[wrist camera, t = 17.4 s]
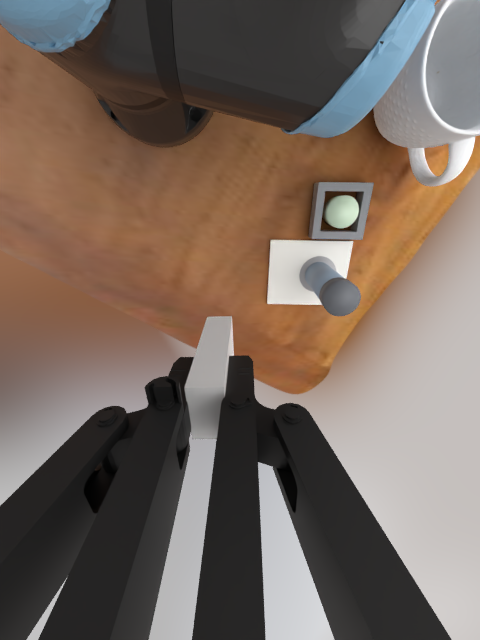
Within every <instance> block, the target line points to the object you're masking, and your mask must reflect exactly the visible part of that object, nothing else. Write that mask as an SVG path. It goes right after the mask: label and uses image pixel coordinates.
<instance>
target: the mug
mask: <svg viewBox="0 0 480 640" xmlns="http://www.w3.org/2000/svg"><path fill="white" fill-rule="evenodd" d="M373 111H374V119H375V123H376V126H377V128H378V130H379V132H380V133H381V134H382V136H383V137H384V138H386V139H387V140H388V141H390V142H391V143H393V144H396V145H398V146H402V147H408V153H409V160H410V165H411V168H412V171H413V174H414V176H415V177H416V179H417V180H418V181H419V182H420V183H421V184H423V185H425V186H438V185H442V184H445V183H447V182H449V181H451V180H453V179H454V178H455V177H457V176H458V175H459V174H460V173H461V172H462V170H463V169H464V167H465V166H466V164H467V162H468V160H469V158H470V156H471V153H472V150H473V147H474V142H475V136H478V135H480V0H441V1H440V2H439V3H437V4H436V5H435V13H434V15H433V17H432V19H431V21H430V23H429V25H428V27H427V29H426V30H425V32H424V34H423V36H422V38H421V39H420V41H419V43H418V44H417V46H416V48H415V49H414V51H413V53H412V54H411V56H410V57H409V59H408V61H407V62H406V64H405V65H404V67H403V68H402V70H401V71H400V73H399V74H398V76H397V77H396V79H395V80H394V81H393V83H392V84H391V86H390V87H389V88H388V90H387V91H386V92H385V94H384V95H383V96H382V98H381V99H380V100H379V101H378V103H377V104H376V105H375V106H374V109H373ZM445 144H449V159H448V164H447V167H446V169H445V171H444V172H443V174H442V175H440V176H439V177H438V176H435V175H434V174H433V173H432V172H431V171H430V169H429V167H428V165H427V162H426V159H425V155H424V148H428V147H435V146H443V145H445Z"/></svg>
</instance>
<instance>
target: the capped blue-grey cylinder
mask: <svg viewBox="0 0 480 640" xmlns="http://www.w3.org/2000/svg"><path fill="white" fill-rule="evenodd" d="M305 280H306V282H307V283H308V285H309V286H310V287H311V289H312V290H313V291H314V293H315V294H316V295H317V297H318V298H319V299H320V302H321V304H322V305H323V306H324V308H325V309H326V310H327V312H329V313H330V314H332V315H334V316H345V315H348V314H350V313H351V312H353V311H354V310H355V309H356V308H357V306H358V305H359V302H360V298H361V295H360V291H359V289H358V288H357V287H356V286H355V285H354V284H353V283H351V282H350V281H349V280H347V279H345V278H344V277H342V276H341V275H340V274H339V273H337V272H336V271H335V270H334V269H332V268H331V267H330V266H329V265H327V264H326V263H324V262H315V263H313V264H311V265H310V266H309V267H308V268H307V270H306V272H305Z"/></svg>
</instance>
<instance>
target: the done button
mask: <svg viewBox="0 0 480 640" xmlns="http://www.w3.org/2000/svg"><path fill="white" fill-rule="evenodd" d="M358 213H359V206H358V203H357V201H356V200H355V199H354V198H353V197H351V196H347V195H343V196H335V197H332V198H331V199H329V200H328V201H327V202H326V204H325V205H324V208H323V219H324V221H325V222H326V223H327V224H328V225H330V226H333V227H336V228H346V227H348V226H350V225H351V224H352V223H353V222H354V221H355V220H356V218H357V216H358Z"/></svg>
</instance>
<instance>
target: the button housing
mask: <svg viewBox="0 0 480 640" xmlns="http://www.w3.org/2000/svg"><path fill="white" fill-rule="evenodd" d="M373 185H374V183H349V182H317V183H314V191H313V199H312V208H311V216H310V225H309V234H308V237H310V238H311V239H354V240H362V239H363V234H364V229H365V224H366V219H367V214H368V209H369V204H370V199H371V195H372V190H373ZM325 192H357V195H356V201H357V203H358V206H359V213H358V216H357V218H356V220H355V221H354V222H353V223H352V224H351V229H350V230H320V229H321V221H322V214H323V206H324V199H325Z"/></svg>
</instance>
